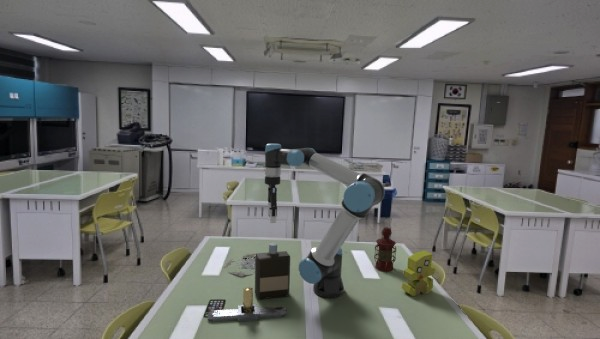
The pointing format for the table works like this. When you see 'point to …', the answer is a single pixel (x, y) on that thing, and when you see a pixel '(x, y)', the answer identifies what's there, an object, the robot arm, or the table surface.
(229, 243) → the table surface
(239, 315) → the grey metal bar device
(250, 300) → the pin
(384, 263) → the lantern
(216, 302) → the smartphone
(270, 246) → the bottle
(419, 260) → the toy
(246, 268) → the stone slab
